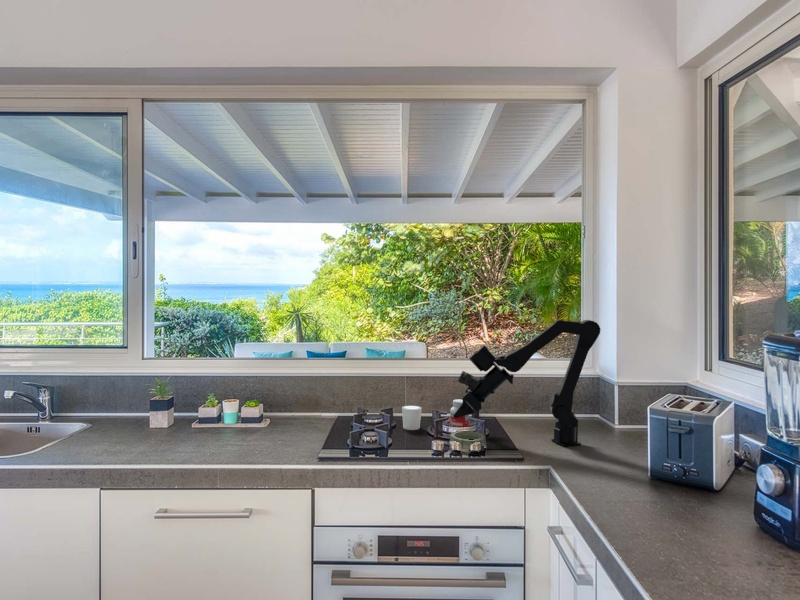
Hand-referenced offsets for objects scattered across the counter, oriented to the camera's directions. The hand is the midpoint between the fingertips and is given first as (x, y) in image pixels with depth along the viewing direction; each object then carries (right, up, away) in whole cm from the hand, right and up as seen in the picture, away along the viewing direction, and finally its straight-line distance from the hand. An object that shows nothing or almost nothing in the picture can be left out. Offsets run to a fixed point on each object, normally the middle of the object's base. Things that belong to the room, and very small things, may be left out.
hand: (455, 413), depth 162 cm
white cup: (-14, -6, +7) cm, 17 cm away
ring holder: (+2, -7, -14) cm, 15 cm away
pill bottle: (+1, -7, 0) cm, 7 cm away
